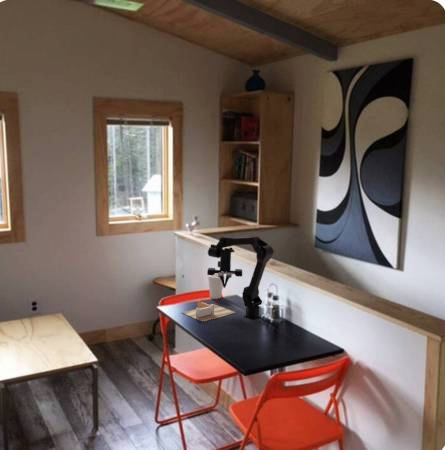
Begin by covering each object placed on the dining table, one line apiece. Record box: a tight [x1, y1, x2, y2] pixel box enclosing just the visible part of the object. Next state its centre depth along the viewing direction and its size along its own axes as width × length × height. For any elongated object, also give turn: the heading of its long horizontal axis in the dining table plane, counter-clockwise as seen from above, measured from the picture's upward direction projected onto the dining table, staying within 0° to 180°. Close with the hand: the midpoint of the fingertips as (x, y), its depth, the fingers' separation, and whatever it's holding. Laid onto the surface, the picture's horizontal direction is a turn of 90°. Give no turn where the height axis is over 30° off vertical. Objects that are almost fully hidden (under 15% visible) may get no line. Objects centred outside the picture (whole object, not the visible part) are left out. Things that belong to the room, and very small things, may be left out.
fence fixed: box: [195, 303, 215, 318], centre depth 272 cm, size 2×12×6 cm, turn 132°
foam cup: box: [207, 273, 224, 300], centre depth 307 cm, size 10×9×13 cm
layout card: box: [181, 304, 237, 323], centre depth 278 cm, size 17×24×1 cm
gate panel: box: [197, 299, 211, 309], centre depth 280 cm, size 2×9×5 cm, turn 45°
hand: (224, 287), depth 285 cm, fingers closed
